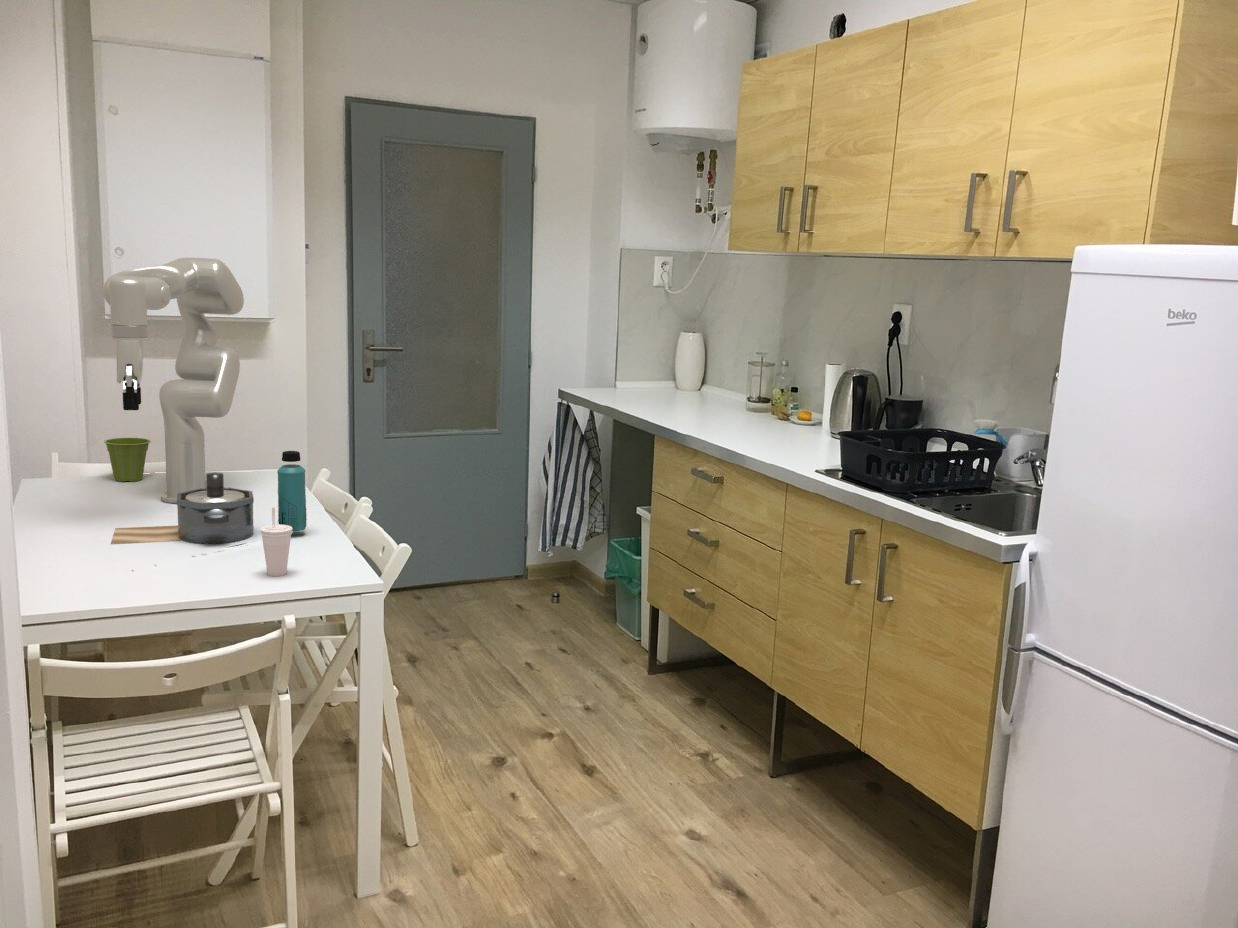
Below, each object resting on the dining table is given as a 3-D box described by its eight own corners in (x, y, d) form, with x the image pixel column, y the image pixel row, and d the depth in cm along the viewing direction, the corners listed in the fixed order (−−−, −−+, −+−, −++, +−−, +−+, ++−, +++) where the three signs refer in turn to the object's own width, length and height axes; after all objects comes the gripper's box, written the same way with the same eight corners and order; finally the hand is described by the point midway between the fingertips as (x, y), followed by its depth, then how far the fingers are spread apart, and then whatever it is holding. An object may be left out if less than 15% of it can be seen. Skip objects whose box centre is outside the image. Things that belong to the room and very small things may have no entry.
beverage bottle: (312, 533, 242) (312, 450, 238) (295, 539, 236) (294, 454, 232) (289, 529, 244) (288, 447, 240) (271, 536, 238) (270, 451, 234)
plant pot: (139, 485, 282) (138, 445, 280) (97, 482, 282) (95, 443, 280) (159, 476, 294) (158, 438, 292) (118, 474, 294) (117, 436, 292)
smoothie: (265, 568, 213) (264, 503, 210) (296, 569, 213) (295, 504, 211) (256, 577, 206) (255, 510, 204) (289, 578, 207) (288, 511, 204)
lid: (221, 491, 240) (220, 466, 239) (256, 499, 233) (255, 474, 232) (174, 500, 229) (173, 473, 228) (209, 508, 223) (208, 482, 222)
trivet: (115, 532, 234) (115, 528, 234) (181, 529, 239) (181, 525, 239) (110, 548, 221) (110, 544, 221) (180, 545, 227) (180, 540, 226)
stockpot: (179, 529, 239) (178, 487, 237) (251, 526, 245) (250, 484, 243) (177, 553, 220) (176, 507, 219) (255, 549, 226) (255, 504, 225)
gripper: (114, 329, 239) (117, 402, 242) (108, 335, 223) (111, 412, 226) (149, 330, 242) (151, 402, 245) (145, 336, 226) (148, 412, 229)
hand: (132, 407), depth 236 cm, fingers open, 9 cm apart
